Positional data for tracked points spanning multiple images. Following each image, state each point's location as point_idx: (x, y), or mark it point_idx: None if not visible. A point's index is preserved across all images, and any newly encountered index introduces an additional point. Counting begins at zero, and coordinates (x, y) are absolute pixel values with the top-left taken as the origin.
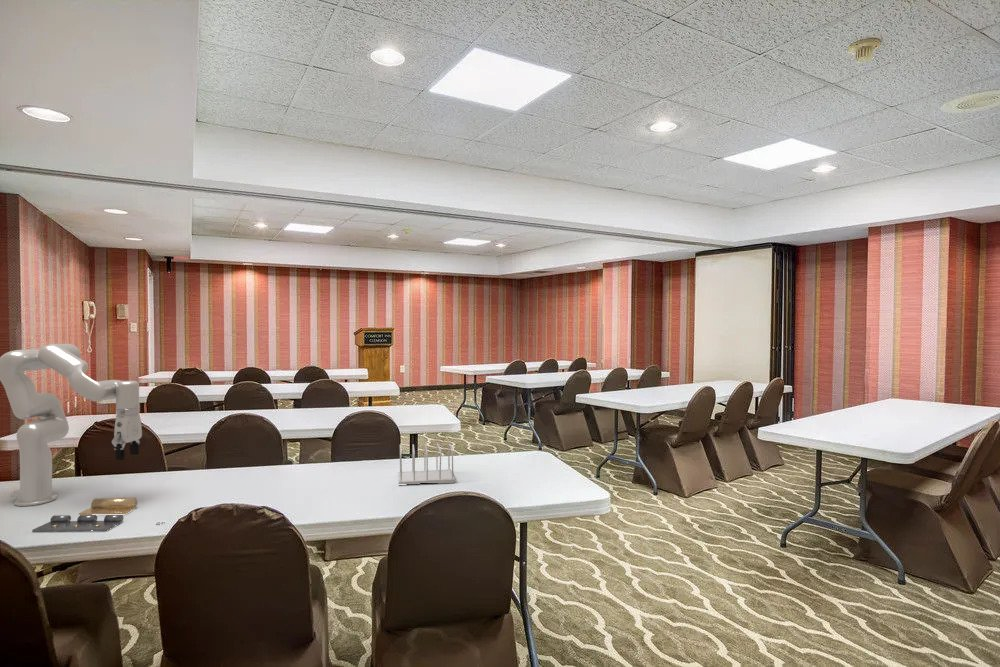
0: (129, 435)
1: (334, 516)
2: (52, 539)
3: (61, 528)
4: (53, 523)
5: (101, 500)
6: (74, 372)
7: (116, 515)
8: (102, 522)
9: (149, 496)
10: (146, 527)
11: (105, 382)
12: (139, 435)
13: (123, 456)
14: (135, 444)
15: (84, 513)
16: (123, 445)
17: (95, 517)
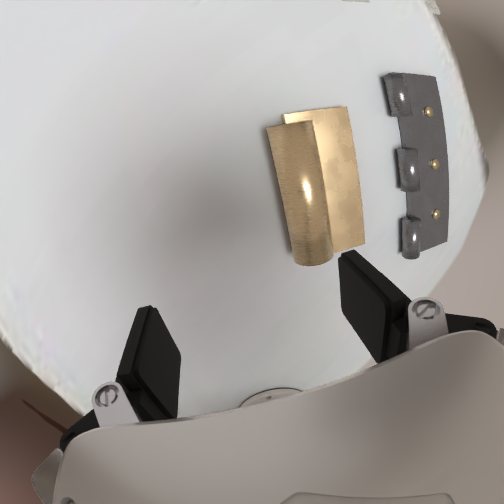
0: (498, 431)
1: None
2: (467, 162)
3: (444, 186)
4: (422, 234)
5: (327, 231)
6: None
7: (404, 86)
8: (411, 116)
9: (147, 191)
10: (389, 4)
11: None
12: (116, 478)
13: (367, 264)
14: (145, 396)
15: (363, 228)
16: (434, 333)
17: (406, 149)
